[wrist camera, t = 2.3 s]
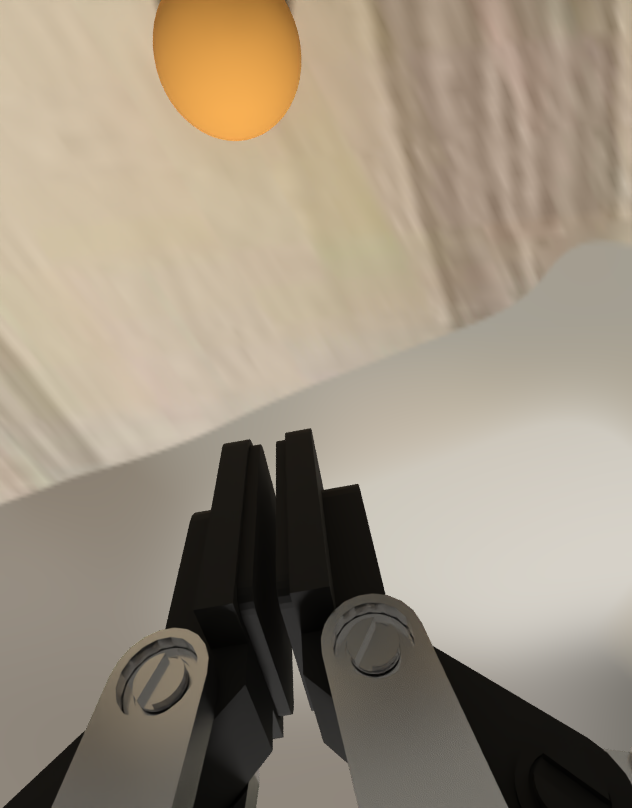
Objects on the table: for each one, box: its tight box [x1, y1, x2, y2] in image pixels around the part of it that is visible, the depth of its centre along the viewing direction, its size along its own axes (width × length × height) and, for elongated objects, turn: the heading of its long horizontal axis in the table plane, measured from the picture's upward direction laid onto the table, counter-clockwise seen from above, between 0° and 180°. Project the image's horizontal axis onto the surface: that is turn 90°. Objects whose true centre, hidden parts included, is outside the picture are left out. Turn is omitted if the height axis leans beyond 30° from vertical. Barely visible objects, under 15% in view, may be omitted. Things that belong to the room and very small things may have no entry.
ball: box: [153, 0, 301, 141], centre depth 18 cm, size 6×6×6 cm
